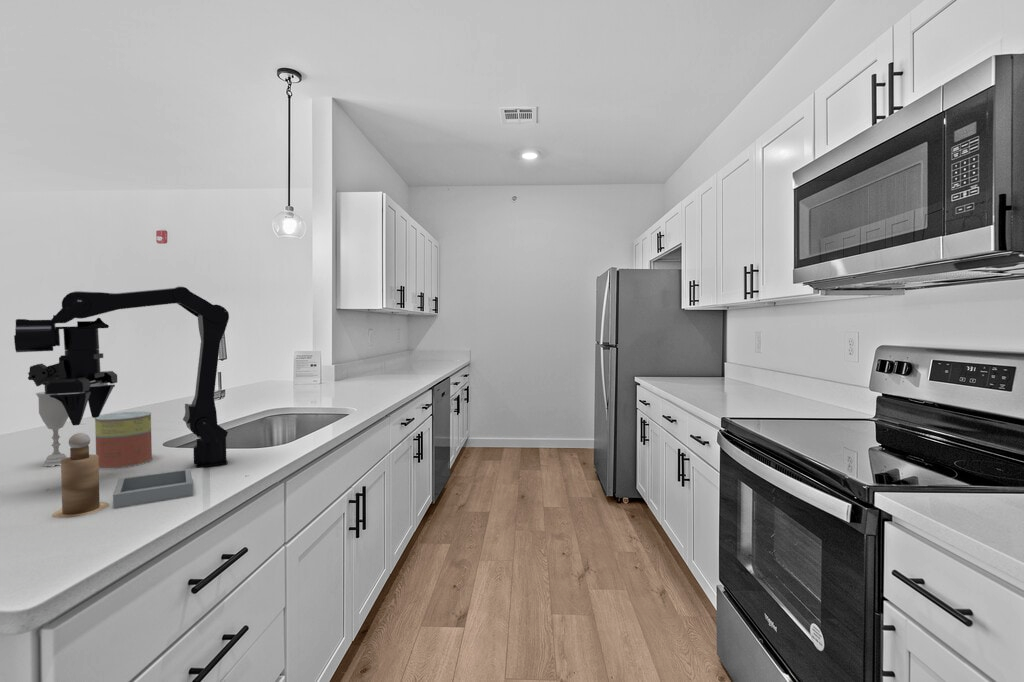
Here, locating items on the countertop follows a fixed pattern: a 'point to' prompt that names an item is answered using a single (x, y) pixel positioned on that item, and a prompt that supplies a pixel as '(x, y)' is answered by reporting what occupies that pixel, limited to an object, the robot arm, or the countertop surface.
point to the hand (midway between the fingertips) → (86, 421)
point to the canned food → (123, 439)
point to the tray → (152, 488)
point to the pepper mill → (80, 477)
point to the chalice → (52, 424)
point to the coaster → (59, 513)
